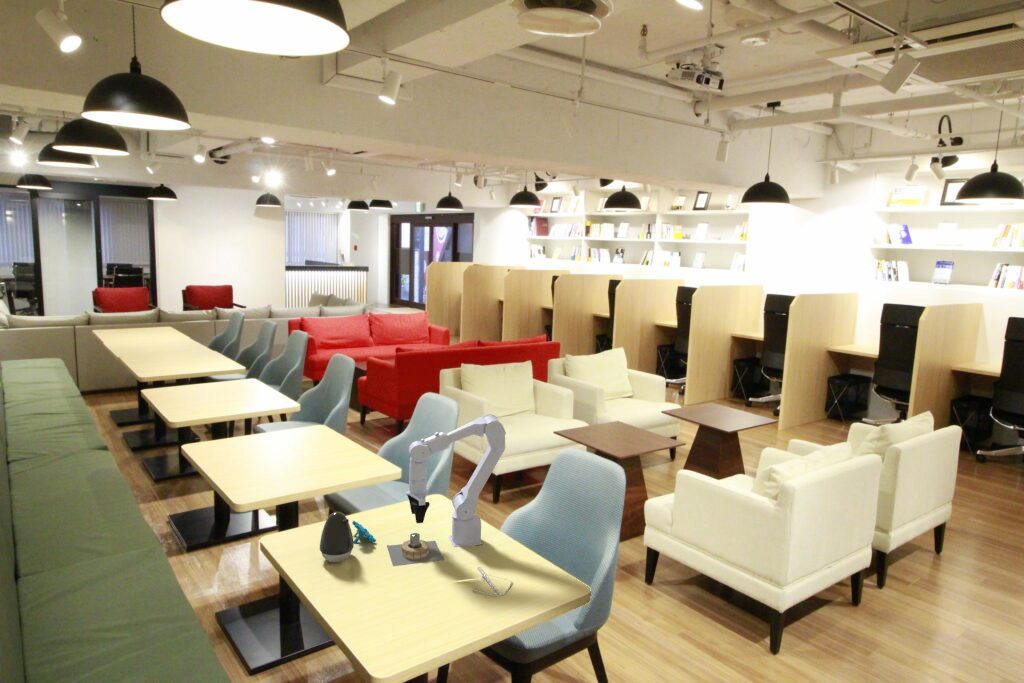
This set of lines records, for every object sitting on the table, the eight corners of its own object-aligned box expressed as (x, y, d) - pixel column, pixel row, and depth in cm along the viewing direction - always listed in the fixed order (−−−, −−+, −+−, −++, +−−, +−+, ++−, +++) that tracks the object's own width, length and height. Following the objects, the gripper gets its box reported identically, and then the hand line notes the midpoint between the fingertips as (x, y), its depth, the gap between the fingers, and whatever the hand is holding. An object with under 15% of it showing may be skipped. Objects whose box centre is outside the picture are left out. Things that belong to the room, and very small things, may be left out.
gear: (379, 542, 212) (357, 523, 209) (367, 557, 210) (344, 538, 208) (373, 533, 222) (352, 515, 219) (361, 547, 221) (340, 528, 218)
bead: (425, 545, 214) (425, 538, 213) (430, 557, 206) (430, 549, 205) (399, 548, 211) (399, 541, 211) (403, 560, 203) (403, 552, 203)
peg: (418, 549, 210) (418, 532, 209) (420, 554, 207) (420, 536, 206) (409, 551, 209) (409, 533, 208) (410, 555, 206) (410, 537, 206)
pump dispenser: (334, 570, 196) (334, 522, 194) (313, 559, 203) (312, 512, 200) (360, 558, 204) (360, 512, 202) (339, 547, 211) (339, 503, 208)
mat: (434, 542, 217) (434, 540, 217) (444, 561, 204) (444, 559, 204) (386, 547, 212) (386, 545, 212) (392, 567, 199) (393, 565, 199)
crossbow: (519, 596, 188) (519, 589, 188) (478, 604, 183) (479, 597, 183) (497, 567, 202) (498, 561, 202) (459, 574, 197) (460, 568, 197)
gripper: (401, 471, 217) (401, 510, 219) (410, 487, 203) (409, 528, 205) (422, 470, 219) (421, 508, 221) (432, 485, 206) (431, 525, 208)
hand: (417, 518), depth 214 cm, fingers open, 7 cm apart
